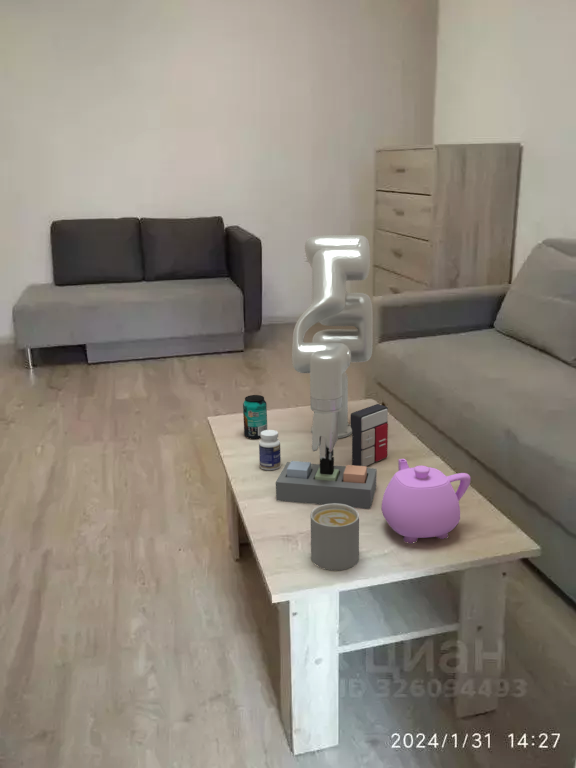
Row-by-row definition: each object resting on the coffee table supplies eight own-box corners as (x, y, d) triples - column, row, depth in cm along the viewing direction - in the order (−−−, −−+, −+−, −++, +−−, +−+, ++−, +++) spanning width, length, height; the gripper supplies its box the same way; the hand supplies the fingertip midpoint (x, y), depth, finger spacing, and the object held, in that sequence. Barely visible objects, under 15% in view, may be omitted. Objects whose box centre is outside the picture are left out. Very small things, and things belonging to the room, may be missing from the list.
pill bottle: (278, 471, 189) (277, 437, 186) (257, 470, 190) (256, 435, 187) (282, 463, 194) (281, 429, 191) (262, 461, 195) (261, 428, 192)
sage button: (319, 485, 178) (318, 467, 177) (338, 487, 177) (338, 469, 176) (315, 494, 174) (314, 476, 172) (335, 496, 173) (335, 477, 171)
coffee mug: (366, 565, 145) (366, 521, 142) (320, 574, 142) (320, 530, 139) (342, 534, 157) (342, 493, 154) (299, 541, 154) (298, 500, 151)
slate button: (291, 478, 180) (291, 460, 178) (311, 480, 178) (310, 462, 177) (287, 487, 175) (286, 469, 173) (307, 489, 174) (306, 470, 172)
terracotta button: (346, 483, 176) (346, 464, 175) (366, 484, 175) (366, 466, 174) (343, 492, 172) (343, 473, 170) (364, 494, 171) (364, 475, 169)
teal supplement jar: (249, 430, 218) (248, 393, 214) (271, 432, 216) (269, 395, 212) (240, 438, 212) (238, 400, 208) (262, 441, 209) (260, 402, 206)
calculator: (361, 470, 188) (362, 417, 184) (350, 465, 192) (350, 413, 187) (389, 458, 195) (390, 407, 191) (377, 453, 198) (378, 403, 194)
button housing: (287, 479, 184) (287, 461, 182) (376, 486, 179) (376, 468, 177) (276, 500, 173) (275, 482, 171) (370, 508, 168) (370, 489, 166)
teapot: (444, 499, 171) (447, 441, 167) (483, 540, 153) (488, 477, 148) (367, 509, 168) (367, 450, 163) (397, 553, 149) (399, 488, 144)
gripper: (316, 391, 176) (317, 459, 182) (304, 412, 162) (305, 484, 168) (346, 393, 174) (346, 461, 180) (336, 414, 161) (336, 487, 166)
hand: (326, 472), depth 174 cm, fingers closed
